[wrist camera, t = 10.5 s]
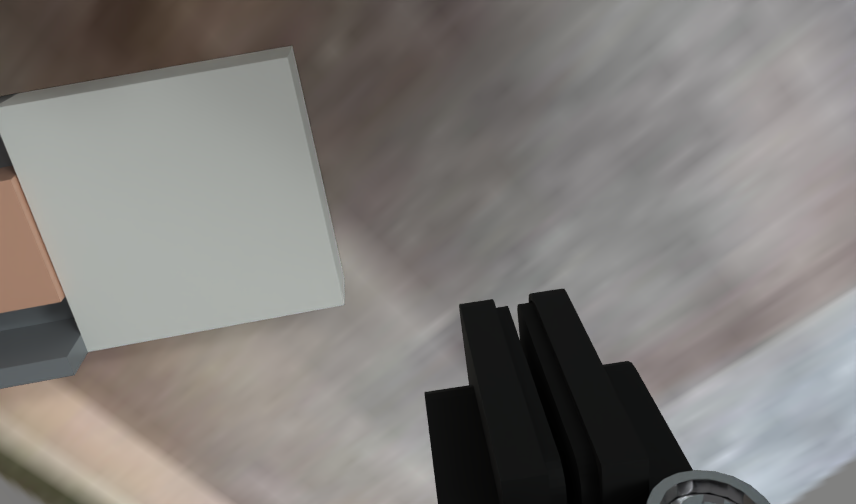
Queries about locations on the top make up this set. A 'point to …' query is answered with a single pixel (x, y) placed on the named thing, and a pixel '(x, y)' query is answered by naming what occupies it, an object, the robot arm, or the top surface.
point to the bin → (38, 335)
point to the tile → (23, 252)
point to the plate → (178, 197)
